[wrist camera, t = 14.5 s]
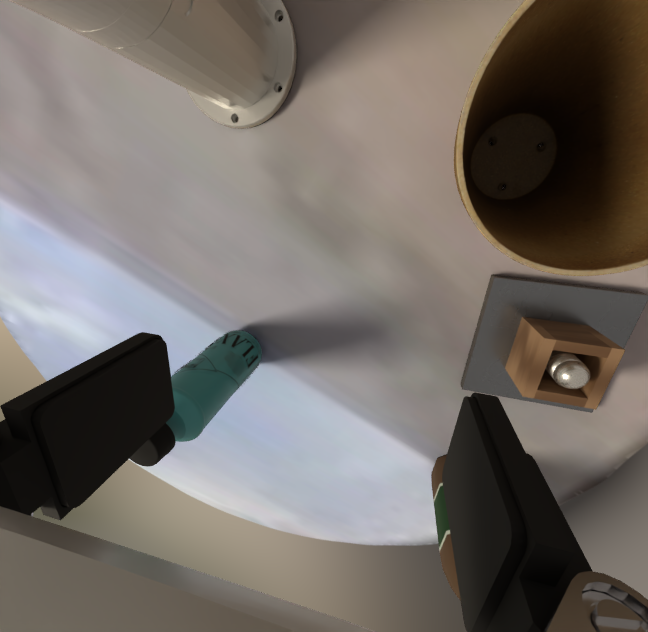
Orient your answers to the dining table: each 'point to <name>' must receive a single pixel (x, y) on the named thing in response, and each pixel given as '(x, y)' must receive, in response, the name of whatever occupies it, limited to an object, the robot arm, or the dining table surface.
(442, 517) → the beer bottle
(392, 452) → the dining table surface
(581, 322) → the post block
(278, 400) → the dining table surface
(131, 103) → the dining table surface
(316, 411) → the dining table surface
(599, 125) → the plant pot
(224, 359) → the beverage bottle
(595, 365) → the walnut collar
